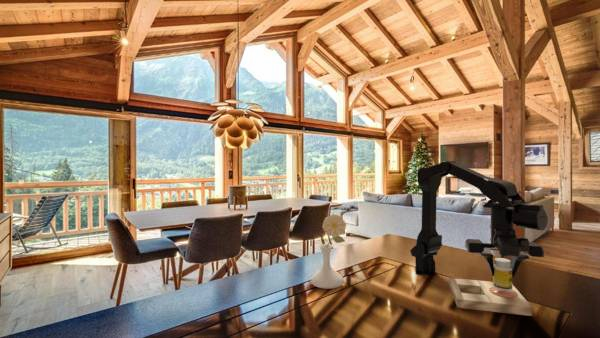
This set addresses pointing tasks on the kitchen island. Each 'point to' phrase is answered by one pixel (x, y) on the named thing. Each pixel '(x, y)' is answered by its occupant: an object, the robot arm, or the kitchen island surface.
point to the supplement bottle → (502, 274)
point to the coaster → (503, 293)
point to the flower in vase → (326, 274)
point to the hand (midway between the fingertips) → (502, 276)
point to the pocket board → (486, 298)
